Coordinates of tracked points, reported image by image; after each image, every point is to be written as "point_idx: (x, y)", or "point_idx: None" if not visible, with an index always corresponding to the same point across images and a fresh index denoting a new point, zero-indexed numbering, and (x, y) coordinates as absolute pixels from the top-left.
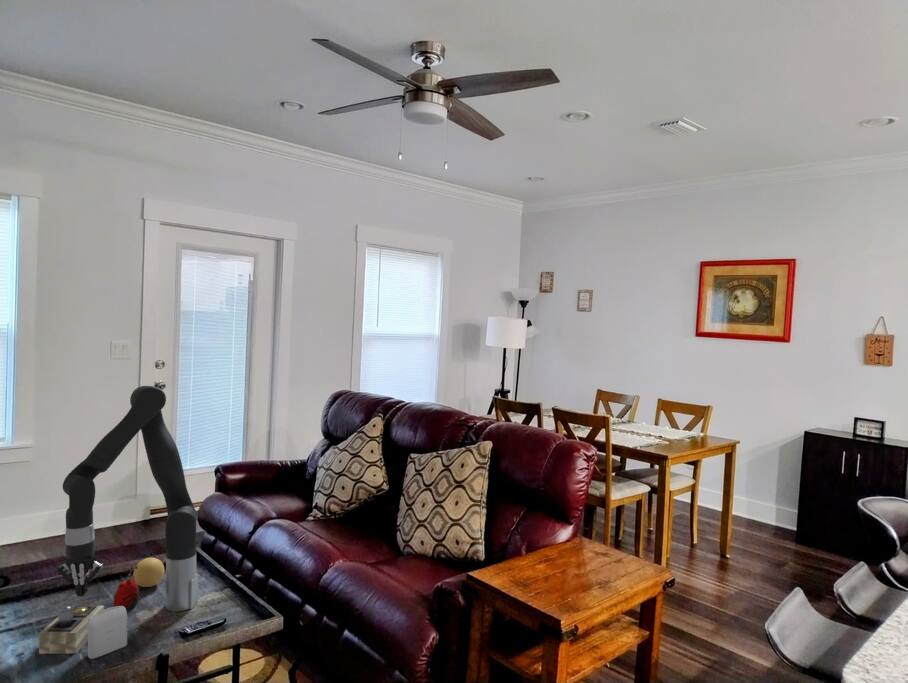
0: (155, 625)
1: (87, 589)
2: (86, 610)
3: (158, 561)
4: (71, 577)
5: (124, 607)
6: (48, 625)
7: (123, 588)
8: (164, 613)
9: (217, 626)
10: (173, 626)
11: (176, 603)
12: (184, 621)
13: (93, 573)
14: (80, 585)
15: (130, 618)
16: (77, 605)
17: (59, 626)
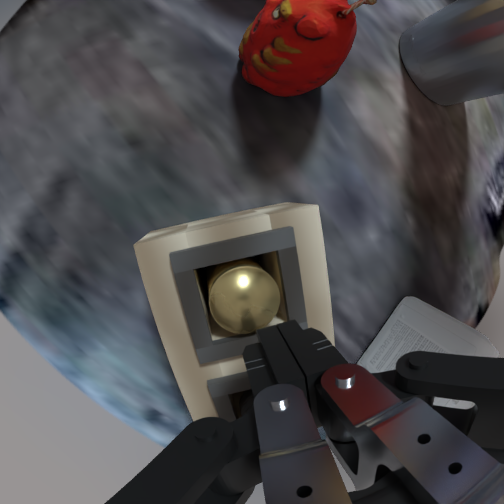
0: (439, 187)
1: (324, 335)
2: (278, 292)
3: None
4: (215, 481)
5: (498, 355)
6: (193, 417)
7: (328, 49)
8: (424, 112)
9: None
10: (471, 188)
11: (463, 101)
12: (478, 160)
13: (488, 439)
14: (320, 422)
15: (353, 146)
16: (186, 255)
17: None
